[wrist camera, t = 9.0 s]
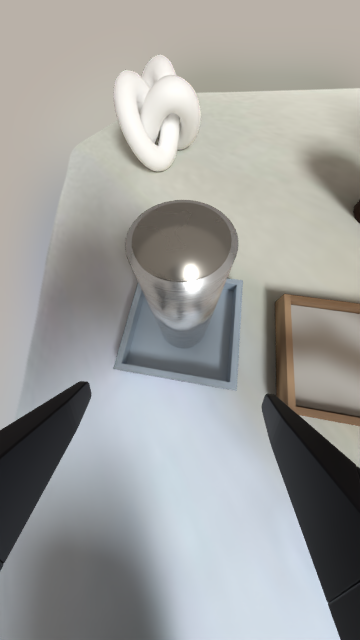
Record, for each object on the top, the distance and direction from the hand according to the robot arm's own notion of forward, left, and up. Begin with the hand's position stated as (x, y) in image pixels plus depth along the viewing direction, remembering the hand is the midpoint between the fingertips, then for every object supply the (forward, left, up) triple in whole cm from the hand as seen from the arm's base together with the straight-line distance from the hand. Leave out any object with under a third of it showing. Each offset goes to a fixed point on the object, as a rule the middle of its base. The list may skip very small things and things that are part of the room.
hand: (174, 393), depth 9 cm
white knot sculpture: (+35, +10, -9) cm, 38 cm away
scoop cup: (+6, +1, -8) cm, 10 cm away
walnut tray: (+5, -15, -9) cm, 18 cm away
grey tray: (+6, +1, -9) cm, 11 cm away
